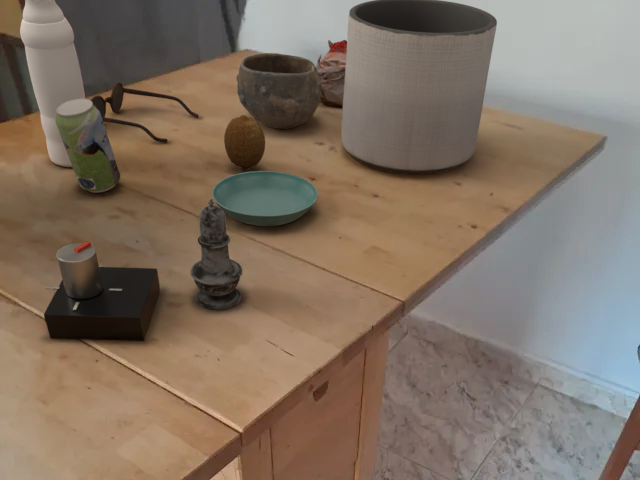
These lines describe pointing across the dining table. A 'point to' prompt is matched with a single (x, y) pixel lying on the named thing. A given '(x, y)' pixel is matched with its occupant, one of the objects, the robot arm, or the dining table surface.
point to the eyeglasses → (116, 104)
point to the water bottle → (51, 67)
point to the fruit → (244, 142)
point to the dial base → (107, 307)
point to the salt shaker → (215, 263)
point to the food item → (333, 73)
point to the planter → (415, 83)
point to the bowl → (279, 89)
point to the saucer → (265, 197)
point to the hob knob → (80, 270)
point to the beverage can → (87, 145)
